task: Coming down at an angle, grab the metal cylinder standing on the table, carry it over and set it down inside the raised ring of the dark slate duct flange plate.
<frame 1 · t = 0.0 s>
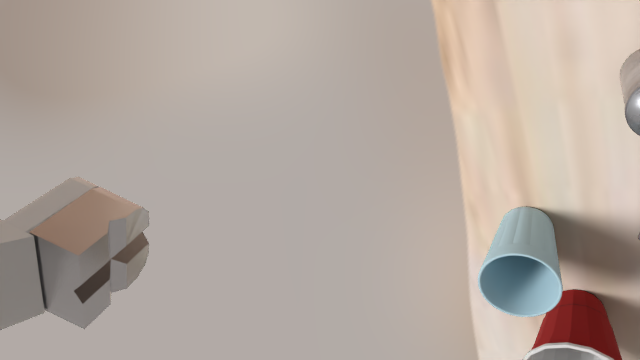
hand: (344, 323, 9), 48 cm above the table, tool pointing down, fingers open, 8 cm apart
cup: (526, 226, 61), on the table
plastic cup: (574, 307, 64), on the table
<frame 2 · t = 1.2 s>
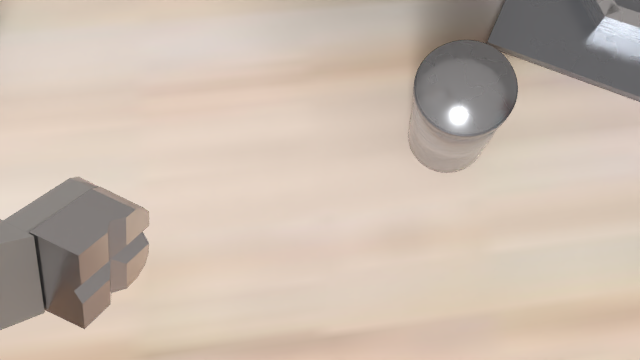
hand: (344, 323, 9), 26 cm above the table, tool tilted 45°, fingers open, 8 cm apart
metal cylinder: (446, 136, 37), on the table
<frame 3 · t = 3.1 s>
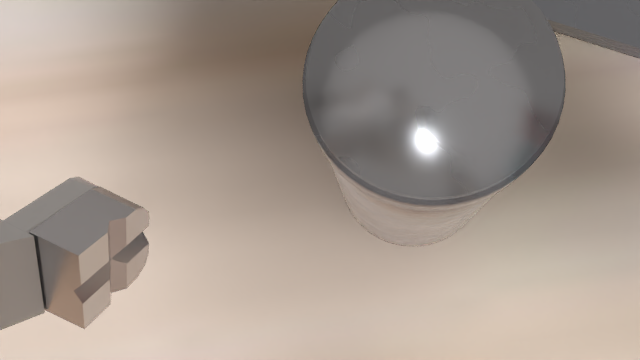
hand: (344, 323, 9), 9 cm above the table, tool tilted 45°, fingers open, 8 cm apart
metal cylinder: (411, 176, 19), on the table
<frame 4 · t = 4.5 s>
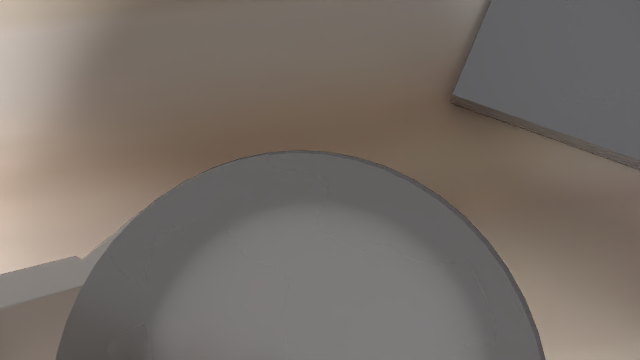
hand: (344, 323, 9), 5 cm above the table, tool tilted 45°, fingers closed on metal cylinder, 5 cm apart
metal cylinder: (350, 341, 14), on the table, touching gripper
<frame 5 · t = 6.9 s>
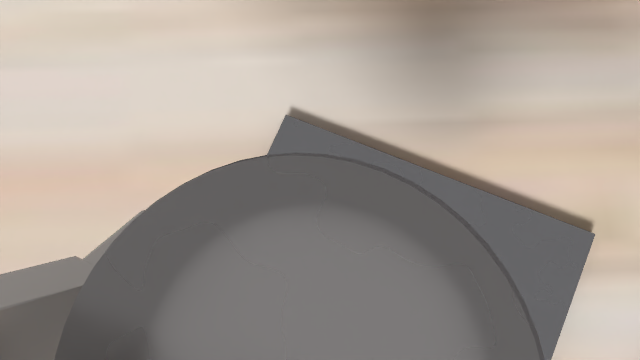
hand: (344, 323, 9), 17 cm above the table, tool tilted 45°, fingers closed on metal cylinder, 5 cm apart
metal cylinder: (350, 342, 14), point 13 cm above the table, touching gripper
duct flange: (368, 323, 26), on the table
when the fingers open (7 cm above the table, at t = 9.3 s): metal cylinder drops 1 cm, resting on duct flange.
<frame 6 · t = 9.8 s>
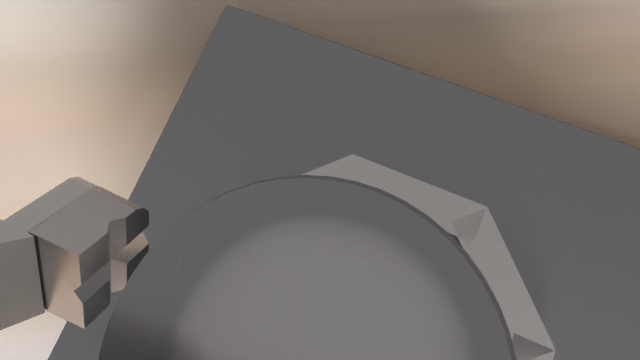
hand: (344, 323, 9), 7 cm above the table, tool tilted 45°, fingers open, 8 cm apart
metal cylinder: (351, 340, 15), point 1 cm above the table, touching duct flange
duct flange: (355, 338, 16), on the table
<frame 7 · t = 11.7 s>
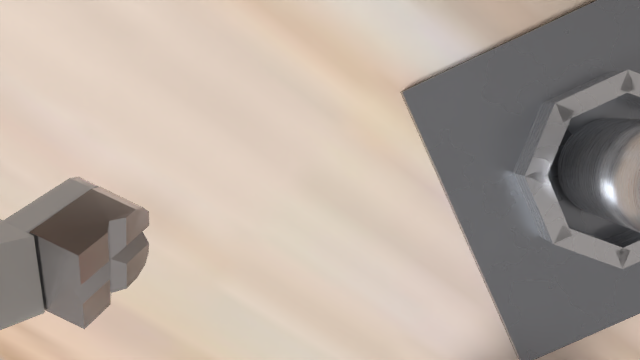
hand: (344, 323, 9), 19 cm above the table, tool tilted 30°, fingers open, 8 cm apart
metal cylinder: (606, 167, 28), point 1 cm above the table, touching duct flange
duct flange: (601, 166, 29), on the table
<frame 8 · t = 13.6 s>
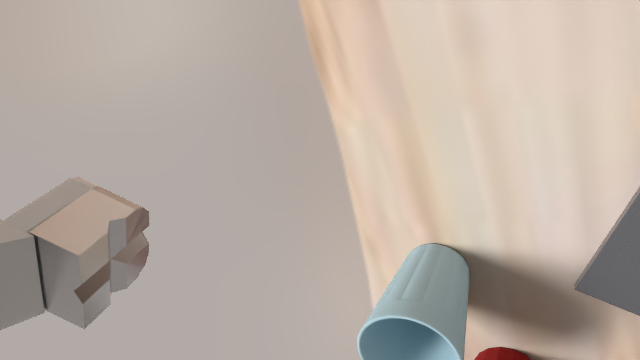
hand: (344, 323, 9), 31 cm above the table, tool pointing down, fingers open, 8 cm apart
cup: (437, 267, 47), on the table
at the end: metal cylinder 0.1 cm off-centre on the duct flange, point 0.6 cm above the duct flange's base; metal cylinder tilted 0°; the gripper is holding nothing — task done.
